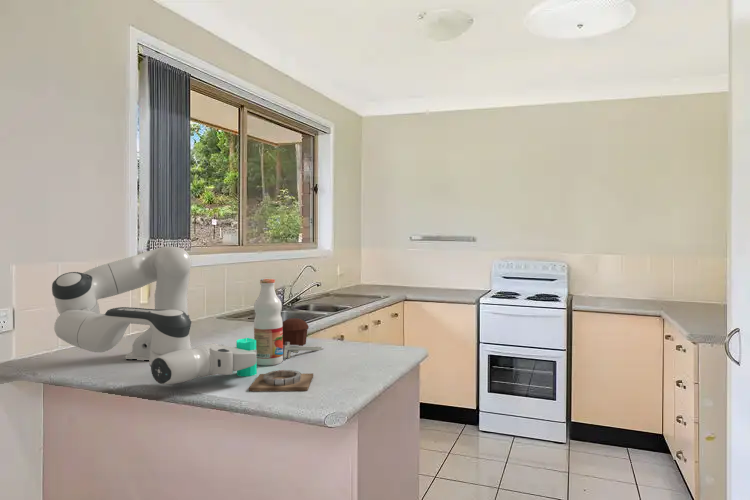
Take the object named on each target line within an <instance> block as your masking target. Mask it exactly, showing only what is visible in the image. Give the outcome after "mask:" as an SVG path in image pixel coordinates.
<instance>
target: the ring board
mask: <svg viewBox="0 0 750 500" xmlns="http://www.w3.org/2000/svg"><path fill="white" fill-rule="evenodd" d="M265 374H266V373H259V375H258V376H257V378H256V379H254V380H253V382H252V384H250V385H249V387H248V392H301V391H302V392H303V391H304V392H305V391H306V392H307V391H309V388H310V386H311V383H312V381H313V378H314V373H301V381H300V382H297V383H295V384H290V385H277V386H275V385H269V384H266V383H265V382H264V375H265ZM275 378H276V379H284V378H291V377H289V376H281V377H275Z"/></svg>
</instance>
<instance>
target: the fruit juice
mask: <svg viewBox="0 0 750 500" xmlns="http://www.w3.org/2000/svg"><path fill="white" fill-rule="evenodd" d="M259 281H260V282H259V283H260V287H261V288H260V292H259V295H258V297H257V299H256V300H255V301H254V304H253V310H254V314H255V317H254V319H253V320H254V321H253V336H254V337H253V339H255V340H256V350H257V355H256V359H257V366H266V367H267V366H277V365H279V364H282V363H283V361H284V359H283V323H282V322H283V317H282V314H281V313H282V308H283V307H282V306H283V303H282V301H281V299H280V298H279V296H277V293H276V290H275V289H276V288H275V285H276V279H275V278H262V279H260V280H259Z"/></svg>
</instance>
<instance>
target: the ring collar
mask: <svg viewBox="0 0 750 500" xmlns="http://www.w3.org/2000/svg"><path fill="white" fill-rule="evenodd" d="M264 374H265V375H264V382H265V383H266V384H269V385H275V386H277V385H290V384H295V383H297V382H300V381H301V374H302V373H301V372H300V371H298V370H293V369H281V370H273V371H269V372H266V373H264ZM281 376H289V377H291V378H284V379H276V378H275V377H281Z"/></svg>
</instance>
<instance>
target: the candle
mask: <svg viewBox="0 0 750 500" xmlns="http://www.w3.org/2000/svg"><path fill="white" fill-rule="evenodd" d="M235 341H236V342H235V343H236V344H235V345H236V347H237V348H238V349H243V350H248V351H250V350H253V349H255V350H256V340H255V339H254V338H249V337H247V336H245V338H238V339H236V340H235ZM257 370H258V365H257V359H256V364H255V365H253V366H251V367H248V368H245V369H241V370H237V371H236V375H237V376H238V377H245V378H246V377H252V376H255V375H257V374H258V371H257Z"/></svg>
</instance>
